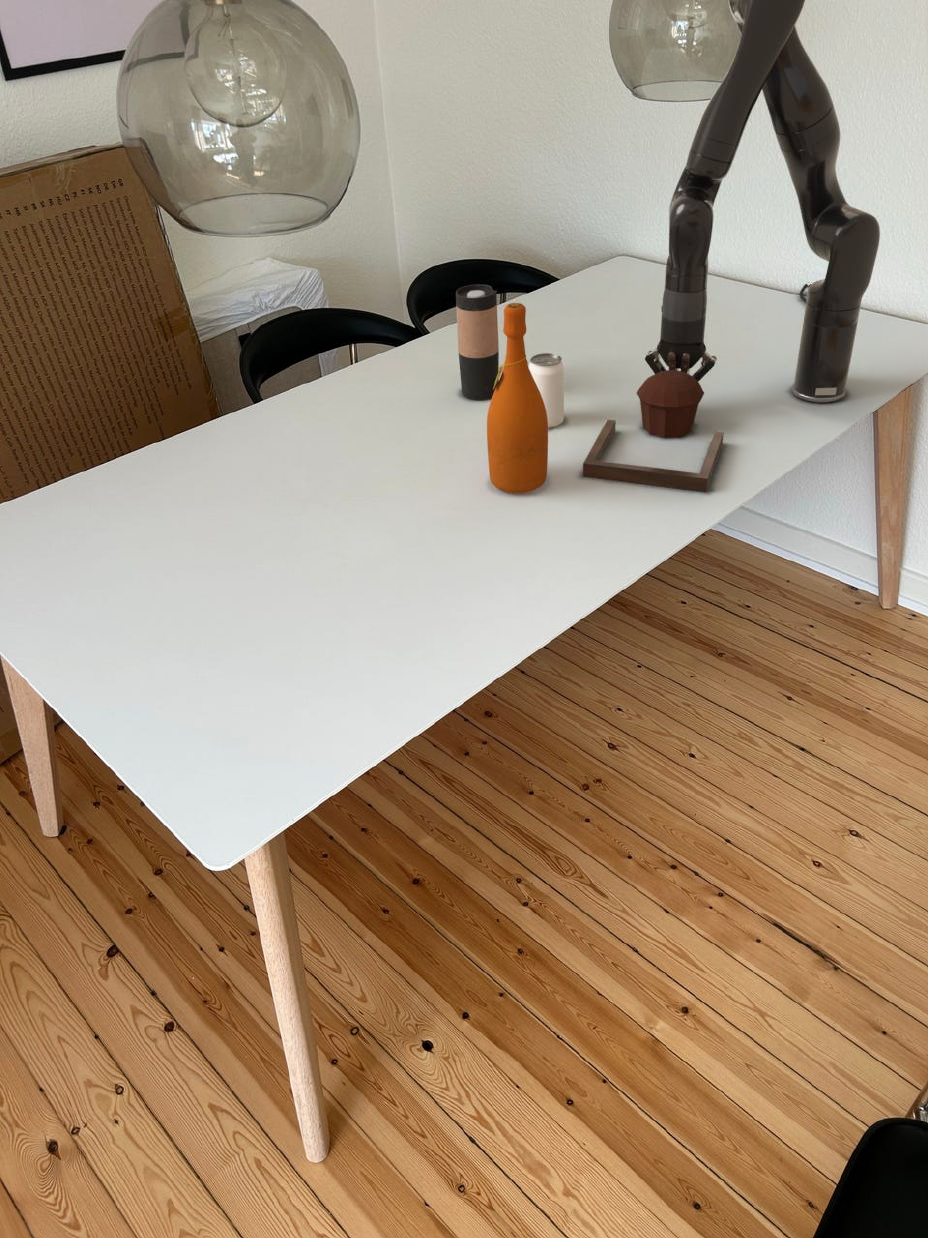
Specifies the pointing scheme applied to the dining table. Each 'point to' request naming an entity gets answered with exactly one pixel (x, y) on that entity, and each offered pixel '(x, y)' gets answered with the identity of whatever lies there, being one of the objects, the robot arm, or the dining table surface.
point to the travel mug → (477, 340)
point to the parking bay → (648, 474)
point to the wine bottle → (517, 416)
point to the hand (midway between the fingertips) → (677, 404)
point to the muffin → (669, 403)
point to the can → (550, 384)
